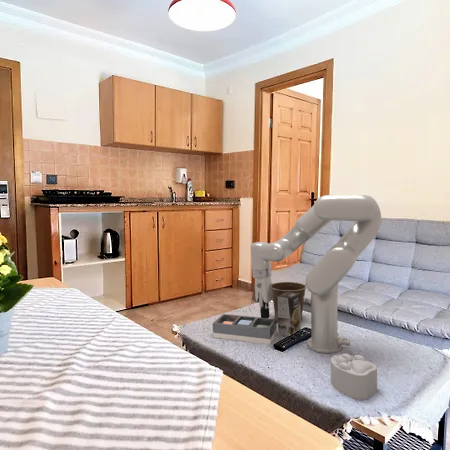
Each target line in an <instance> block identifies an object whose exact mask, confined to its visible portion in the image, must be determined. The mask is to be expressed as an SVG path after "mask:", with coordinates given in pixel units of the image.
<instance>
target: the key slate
mask: <svg viewBox="0 0 450 450" xmlns="http://www.w3.org/2000/svg"><path fill="white" fill-rule="evenodd" d="M251 323H252V321H248V320H240V321H239V323H238V324H237V325H241V326H250V324H251Z"/></svg>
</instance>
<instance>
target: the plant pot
mask: <svg viewBox="0 0 450 450" xmlns="http://www.w3.org/2000/svg"><path fill="white" fill-rule="evenodd" d="M306 289H307V286H306V284H304V283H301V282H294V281H283V282H282V281H280V282H275V283H272V291H273V297H272V300H273V311H274V319H277V323H278V296H280V295H282V294H284V293H286V292H293V293H300V317H301V322H302V321H303V312H304V311H303V309H304V308H303V307H304V299H305V295H306Z"/></svg>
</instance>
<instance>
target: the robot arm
mask: <svg viewBox="0 0 450 450" xmlns="http://www.w3.org/2000/svg"><path fill="white" fill-rule="evenodd" d="M332 221H336V222H337V221H338V222H340V221H341V222H353V223H352V224H351V225H350V227H349V228H348V230H347V231H346V232H345V233H344V234H343V236H342V237H341V238H340V239H339V240H338V241H337V242H336V243H334V244H333V245H332V246H331V247H330V248H329V249H328V250H327V251H326V252H325V253H324V255H322V257H321V258H320V260H319V259H318V262H316V264H315V265H314V266H313V267H312V268H311V270H309V272H308V273H307V275H306V276H305V285H306V289H307V291H308V292H310V295H311V296H310V314H311V315H310V316H311V317H310V319H311V323H310V324H311V332H310V333H311V337H310V338H309V339H308V340H307V343H306V344H307V347H308V348H309V349H310V350H312V351H314V352H317V353H322V354H335V353H338V352H340V351H341V350H342V348H343V346H348V347H350V346H351V339H350V340H348V338H347V337H341V336H340V334H339V332H338V327H339V326H338V292H339V291H338V289H339V288H338V287H339V282H341V280H342V279H343V278H344V277H345V276H346V275H347V274H348V273H349V271H351V270H352V268H353V266H354V265H355V263H356V261H357V259H358V258H359V256H361V254H362V253H363V251H365V250H366V248H367V247H368V246H369V245H370V244H371V242H372V241H373V240H374V239H375V237H376V236H377V234H378V232H379V230H380V227H381V223H382V213H381V209H380V207H379V204H378V202H377V200H376V199H375V198H374V197H372V196H370V195H366V194H363V195H332V194H324V195H322V196H320V197H319V198H317V199H316V200H315V202H314V204H313V205H312V206H311V207H310V208H309V209H307V210H306V212H304V213H303V214H302V215H301V216H300V217H298V219H297V220H296V221H295V223H294V226H293V227H291V229H290V230H289V231H288V232H286V234H284V235H283V236H282V237H281V238H280V239H278V240H276V241H273V242H270V243H269V242H266V241H256V242H253V243H251V244H250V255H251V256H250V258H251V260H250V261H251V270H252V278H254V295H255V302H256V303H258V305H259V308H260V310H259V311H260V318H270V304H269V303H270V302H271V300H273V291H272V284H273V283H272V278H271V277H272V263H271V262H274V263H277V262H279V263H280V262H281V261H283V260H284V259H286V258H288V257H290V255H292V254H293V253H295V251H296V250H298V249H299V248H300V247H301V246H302V245H303V244H305V243H306V242H307V241H308V240H310V239H312V238H313V237H314V236H316V234H317V233H319V232H320V231H321V230H322V229H323V228H325V227H327V225H329V223H331V222H332Z"/></svg>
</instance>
